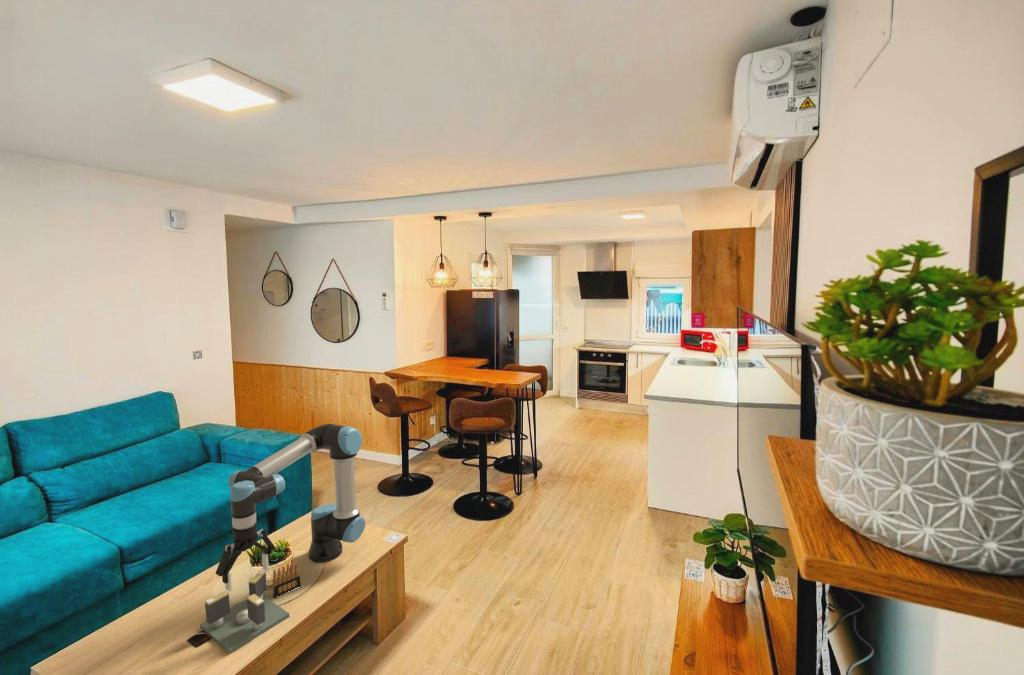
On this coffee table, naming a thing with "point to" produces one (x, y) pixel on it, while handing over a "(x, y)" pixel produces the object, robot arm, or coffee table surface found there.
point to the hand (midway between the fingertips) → (247, 579)
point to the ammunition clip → (286, 580)
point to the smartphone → (199, 639)
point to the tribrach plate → (243, 625)
